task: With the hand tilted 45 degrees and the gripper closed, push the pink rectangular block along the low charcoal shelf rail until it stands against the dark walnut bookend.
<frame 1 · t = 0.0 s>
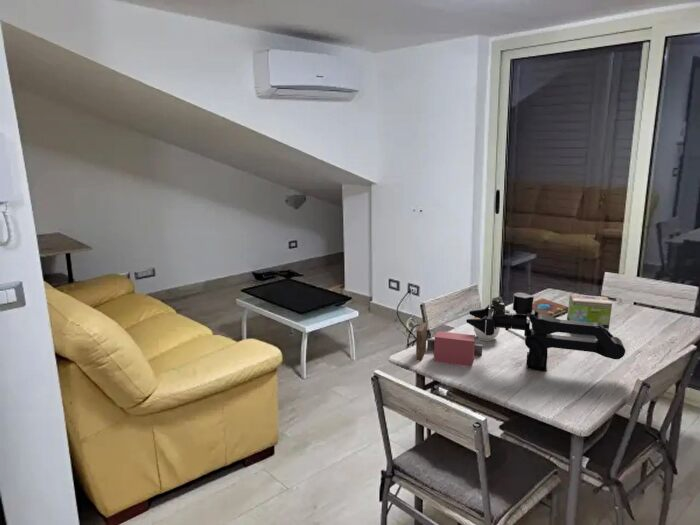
hand: (468, 316, 192), 17 cm above the table, fingers open, 9 cm apart
lidded jar: (485, 338, 214), on the table
tea box: (586, 331, 221), on the table
pink rectangular block: (453, 361, 194), on the table
external hard drive: (524, 335, 219), on the table
book: (544, 312, 246), on the table
bookend: (453, 356, 198), on the table
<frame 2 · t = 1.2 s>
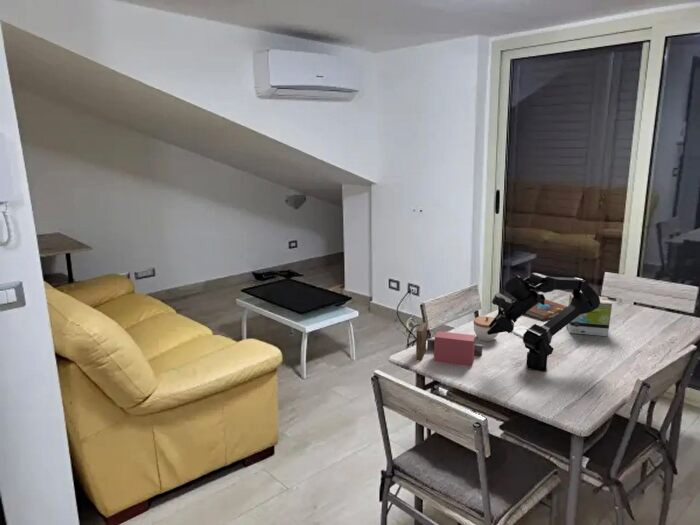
hand: (488, 330, 187), 14 cm above the table, fingers open, 7 cm apart
nothing on the table moved.
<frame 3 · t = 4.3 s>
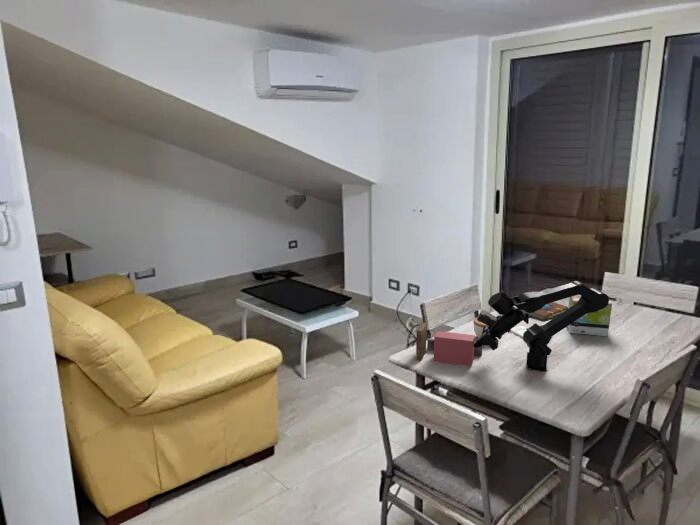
hand: (474, 346, 190), 7 cm above the table, fingers closed, pressing on pink rectangular block
pink rectangular block: (453, 360, 194), on the table, touching gripper
everything else where it was.
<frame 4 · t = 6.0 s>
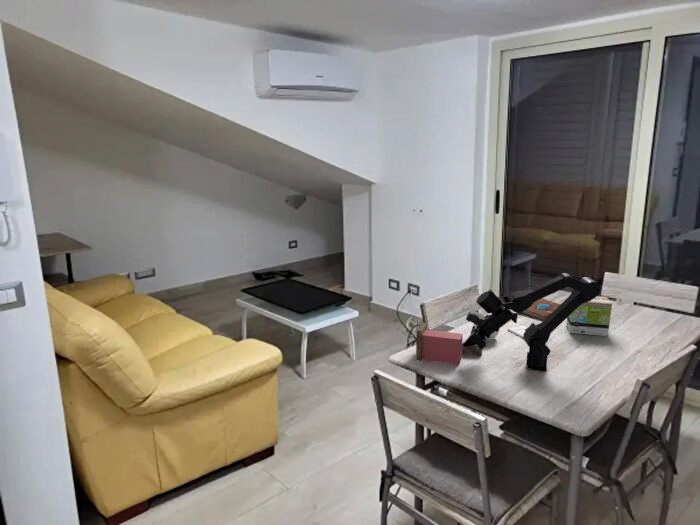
hand: (463, 345, 191), 6 cm above the table, fingers closed
pink rectangular block: (441, 359, 195), on the table
everything else where it was.
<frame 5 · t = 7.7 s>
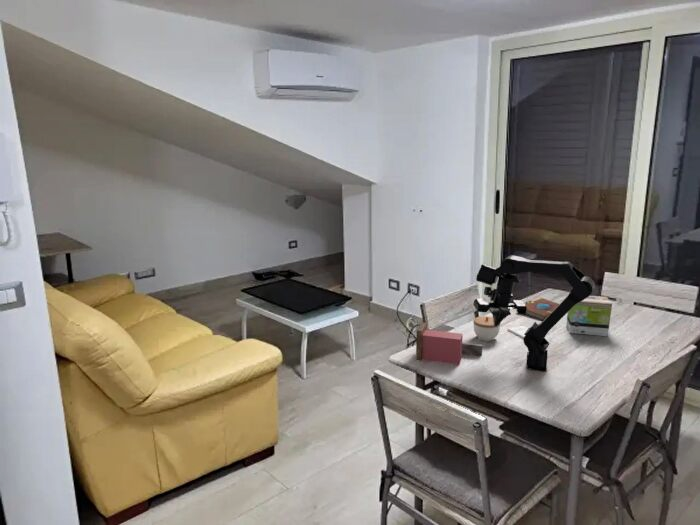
hand: (495, 325, 195), 12 cm above the table, fingers closed
nothing on the table moved.
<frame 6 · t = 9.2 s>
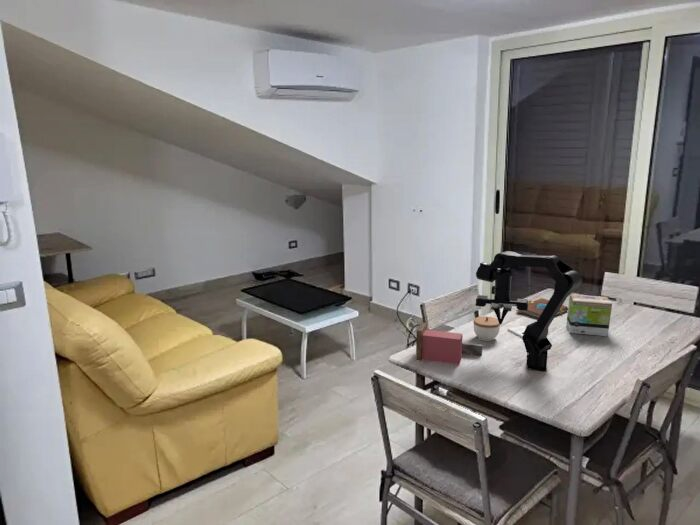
hand: (500, 324, 197), 12 cm above the table, fingers closed
nothing on the table moved.
at the end: pink rectangular block 0.5 cm from the target spot, on the table; pink rectangular block tilted 0° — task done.
